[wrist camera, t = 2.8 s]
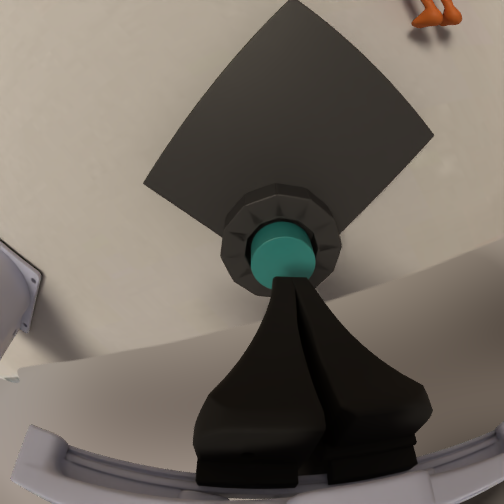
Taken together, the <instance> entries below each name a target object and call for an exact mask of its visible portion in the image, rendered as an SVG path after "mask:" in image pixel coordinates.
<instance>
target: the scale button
mask: <svg viewBox="0 0 504 504" xmlns="http://www.w3.org/2000/svg"><path fill="white" fill-rule="evenodd" d="M315 264H316V260H315V255H314V251H313V248H312V245H311V242H310V239H309V236H308V235H307V233H306V232H305V231H304V230H303V229H302V228H301V227H299V226H298V225H296V224H293V223H290V222H274V223H271V224H268V225H266V226H265V227H263V228H262V229H260V230H259V231H258V232H257V234H256V235H255V237H254V238H253V241H252V245H251V270H252V273H253V275H254V277H255V278H256V280H257V281H258V282H259V283H260V284H262V285H263V286H265V287H267V288H269V289H272V281H273V278H274V277H276V276H281V277H307V278H308V279H309V278H310V277H311V275H312V274H313V272H314V269H315Z"/></svg>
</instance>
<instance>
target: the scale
mask: <svg viewBox="0 0 504 504" xmlns="http://www.w3.org/2000/svg"><path fill="white" fill-rule="evenodd" d="M433 136H434V134H433V133H432V131H431V130H430V129H429V128H428V126H427V125H426V124H425V122H424V121H423V120H422V119H421V117H420V116H419V115H418V114H417V112H416V111H415V110H414V109H413V107H412V106H411V105H410V104H409V103H408V102H407V100H406V99H405V98H404V97H403V96H402V95H401V93H400V92H399V91H398V90H397V89H396V88H395V87H394V86H393V85H392V83H391V82H390V81H389V80H388V79H387V78H386V77H385V76H384V75H383V74H382V73H381V72H380V71H379V70H378V69H377V68H376V67H375V66H374V65H373V64H372V63H371V62H370V61H369V60H368V59H367V58H366V57H365V56H364V55H363V54H362V53H361V52H360V51H359V50H358V49H357V48H356V47H355V46H353V45H352V44H351V43H350V42H349V41H348V40H347V39H346V38H345V37H343V36H342V35H341V34H340V33H339V32H338V31H336V30H335V29H334V28H333V27H332V26H330V25H329V24H328V23H327V22H326V21H324V20H323V19H322V18H321V17H319V16H318V15H317V14H316V13H314V12H313V11H312V10H310V9H309V8H308V7H306V6H305V5H304V4H302V3H301V2H299V1H298V0H288V1H287V2H286V3H285V4H284V5H283V6H282V7H281V8H280V9H279V10H278V11H277V12H276V13H275V14H274V15H273V16H272V17H271V18H270V19H269V20H268V21H267V22H266V23H265V24H264V25H263V27H262V28H261V29H260V30H259V31H258V32H257V33H256V34H255V35H254V36H253V37H252V38H251V39H250V41H249V42H248V43H247V44H246V45H245V46H244V47H243V48H242V49H241V51H240V52H239V53H238V54H237V55H236V56H235V58H234V59H233V60H232V61H231V62H230V63H229V65H228V66H227V67H226V68H225V69H224V71H223V72H222V73H221V74H220V75H219V77H218V78H217V79H216V80H215V82H214V83H213V84H212V85H211V87H210V88H209V89H208V90H207V92H206V93H205V94H204V96H203V97H202V98H201V99H200V101H199V102H198V103H197V105H196V106H195V107H194V109H193V110H192V111H191V113H190V114H189V115H188V117H187V118H186V120H185V121H184V122H183V124H182V125H181V127H180V128H179V129H178V131H177V132H176V134H175V135H174V137H173V138H172V139H171V141H170V142H169V144H168V145H167V147H166V148H165V150H164V151H163V153H162V154H161V156H160V157H159V159H158V160H157V162H156V163H155V165H154V167H153V168H152V170H151V171H150V173H149V174H148V176H147V178H146V179H145V181H144V182H143V184H144V185H146V186H147V187H149V188H150V189H152V190H153V191H155V192H156V193H158V194H159V195H161V196H162V197H163V198H165V199H166V200H168V201H169V202H171V203H172V204H174V205H175V206H177V207H178V208H180V209H181V210H183V211H184V212H186V213H187V214H188V215H190V216H191V217H193V218H194V219H196V220H197V221H199V222H200V223H202V224H203V225H205V226H206V227H208V228H209V229H211V230H212V231H214V232H215V233H217V234H218V235H219V236H221V237H222V247H221V255H220V256H221V259H222V261H223V262H224V264H225V266H226V268H227V270H228V272H229V274H230V276H231V278H232V279H233V281H234V282H235V283H237V284H239V285H240V286H242V287H243V288H245V289H247V290H248V291H250V292H251V293H253V294H255V295H257V296H265V297H271V291H272V289H269V288H267V287H265V286H263V285H262V284H260V283H259V282H258V281H257V280H256V278H255V277H254V275H253V273H252V270H251V245H252V241H253V238H254V237H255V235H256V234H257V232H258V231H259V230H260V229H262V228H263V227H265V226H266V225H268V224H271V223H274V222H290V223H293V224H296V225H298V226H299V227H301V228H302V229H303V230H304V231H305V232H306V233H307V235H308V236H309V239H310V242H311V245H312V248H313V251H314V255H315V260H316V264H315V269H314V272H313V274H312V275H311V277H310V278H309V279H308V280H309V281H310V282H311V284H312V285H313V287H314V288H315V287H317V286H318V285H319V284H320V283H321V282H322V281H323V280H324V279H325V278H327V277H328V276H329V275H330V274H331V273H332V272H333V271H334V268H335V265H336V262H337V259H338V256H339V253H340V250H341V247H342V246H341V245H342V244H341V240H340V237H339V234H340V233H341V232H342V231H343V230H344V229H345V228H346V227H347V226H348V225H349V224H350V223H351V222H352V221H353V220H354V219H355V218H356V217H357V216H358V215H359V214H360V213H361V212H362V211H363V210H364V209H365V208H366V207H367V206H368V205H369V204H370V203H371V202H372V201H373V200H374V199H375V198H376V197H377V196H378V195H379V194H380V193H381V192H382V191H383V190H384V189H385V188H386V187H387V185H388V184H389V183H390V182H391V181H392V180H393V179H394V178H395V177H396V176H397V175H398V174H399V173H400V172H401V171H402V170H403V169H404V168H405V167H406V166H407V164H408V163H409V162H410V161H411V160H412V159H413V158H414V157H415V156H416V155H417V154H418V153H419V152H420V151H421V149H422V148H423V147H424V146H425V145H426V144H427V143H428V142H429V141H430V140H431V139H432V137H433Z"/></svg>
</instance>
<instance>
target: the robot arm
mask: <svg viewBox="0 0 504 504" xmlns="http://www.w3.org/2000/svg"><path fill="white" fill-rule="evenodd" d="M40 281H41V274H40V272H39V271H38V270H36V269H35V268H34V267H32V266H31V265H30V264H28V263H27V262H26V261H25V260H23V259H22V258H21V257H19V256H18V255H17V254H16V253H14V252H13V251H12V250H11V249H9V248H8V247H7V246H6V245H5V244H3V243H2V242H1V241H0V360H1V358H2V356H3V355H4V353H5V351H6V350H7V348H8V346H9V345H10V343H11V342H12V340H13V338H14V337H15V335H16V334H17V332H18V331H19V329H20V330H22V331H23V332H25V333H28V332H29V331H30V326H31V320H32V316H33V311H34V306H35V302H36V297H37V293H38V289H39V285H40ZM432 411H433V409H432V407H431V404H430V401H429V398H428V395H427V393H426V391H425V389H424V387H423V385H421V384H420V383H418V382H416V381H414V380H412V379H410V378H408V377H407V376H405V375H403V374H401V373H400V372H398V371H397V370H395V369H394V368H392V367H390V366H389V365H387V364H386V363H385V362H383V361H382V360H380V359H379V358H378V357H377V356H375V355H374V354H373V353H372V352H370V351H369V350H368V349H367V348H366V347H364V346H363V345H362V344H361V343H360V342H359V341H358V340H357V339H356V338H355V337H354V336H352V335H351V334H350V333H349V332H348V330H347V329H346V328H345V327H344V326H343V325H342V324H341V323H340V322H339V320H338V319H337V318H336V317H335V315H334V314H333V313H332V312H331V310H330V309H329V308H328V306H327V305H326V304H325V303H324V301H323V300H322V298H321V297H320V296H319V294H318V293H317V291H316V290H315V288H314V287H313V285H312V284H311V282H310V281H309V280H308V278H307V277H281V276H276V277H274V278H273V281H272V291H271V299H270V302H269V305H268V308H267V311H266V313H265V316H264V318H263V320H262V322H261V325H260V327H259V329H258V331H257V333H256V335H255V336H254V338H253V340H252V342H251V343H250V345H249V346H248V348H247V350H246V351H245V353H244V354H243V356H242V357H241V358H240V360H239V361H238V362H237V364H236V365H235V366H234V368H233V369H232V370H231V371H230V372H229V374H228V375H227V376H226V377H225V378H224V379H223V380H222V381H221V382H220V383H219V385H217V387H215V388H214V390H213V391H212V392H211V393H210V394H209V395H208V397H207V399H206V401H205V403H204V405H203V406H202V409H201V410H200V413H199V415H198V417H197V420H196V424H195V427H194V436H193V446H194V449H195V452H196V455H197V458H198V461H197V469H196V473H190V472H182V471H175V470H168V469H162V468H156V467H151V466H145V465H140V464H135V463H131V462H126V461H122V460H118V459H114V458H110V457H106V456H103V455H99V454H95V453H92V452H89V451H85V450H82V449H79V448H76V447H73V446H70V445H68V443H67V442H66V441H65V440H64V439H63V438H62V437H60V436H58V435H57V434H54V433H52V432H50V431H47V430H45V429H42V428H39V427H37V426H35V425H29V428H28V431H27V433H26V435H25V438H24V441H23V443H22V446H21V449H20V452H19V455H18V457H17V460H16V463H15V466H14V469H13V472H12V475H11V480H12V481H13V482H14V483H16V484H18V485H19V486H21V487H23V488H24V489H26V490H28V491H30V492H31V493H33V494H35V495H37V496H39V497H41V498H42V499H44V500H46V501H49V502H51V503H53V504H459V503H461V502H463V501H465V500H467V499H470V498H472V497H474V496H476V495H478V494H480V493H481V492H483V491H485V490H487V489H489V488H491V487H493V486H495V485H496V484H498V483H500V482H502V481H503V480H504V421H503V422H502V423H501V424H500V425H498V426H497V427H496V429H495V430H493V431H491V432H489V433H486V434H484V435H482V436H479V437H477V438H474V439H472V440H469V441H466V442H463V443H460V444H458V445H455V446H452V447H449V448H446V449H443V450H440V451H437V452H433V453H430V454H426V455H423V456H419V457H416V454H415V451H414V447H413V445H415V444H416V442H417V441H416V437H415V433H416V432H417V431H418V430H419V429H420V428H421V427H422V426H423V425H424V424H425V423H426V422H427V420H428V419H429V418H430V416H431V414H432ZM228 498H242V499H262V500H236V501H230V500H229V499H228Z"/></svg>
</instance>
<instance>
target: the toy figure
mask: <svg viewBox="0 0 504 504" xmlns="http://www.w3.org/2000/svg"><path fill="white" fill-rule="evenodd" d="M421 2H422V3H423V5H424V6H425V10H424V11H423V12H422V13H421V14H420V15H419V16H418V17H417V18H415V19H414V20H413V21H412V26H413V27H416V28H423V27H428V26H437V25H440V26H447V25H457V24H459V23H460V22H461V21H462V15H461V13H460V12H459V11H458V10H457V9H456V8H455V7H454V5H453V3H452V0H441V2H442V3H443V5H444V8H445V9H444V12H443V15H442V13H441V12H440V11H439V10H438V9H437V7H436V6H435V4H434V2H433V0H421Z"/></svg>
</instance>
